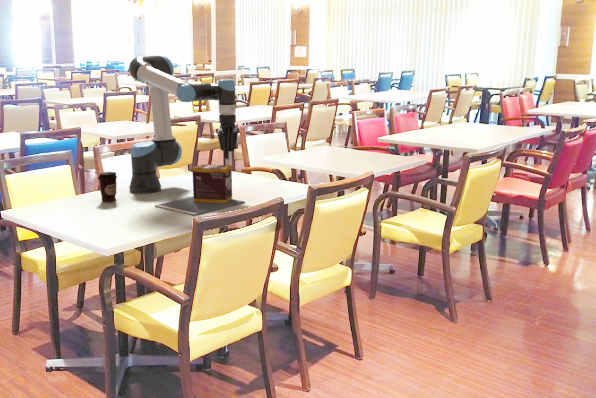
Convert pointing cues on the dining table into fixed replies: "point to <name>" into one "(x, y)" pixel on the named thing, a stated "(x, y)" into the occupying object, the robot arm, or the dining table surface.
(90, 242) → the dining table surface
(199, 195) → the supplement box
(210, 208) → the mat
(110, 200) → the coffee cup
